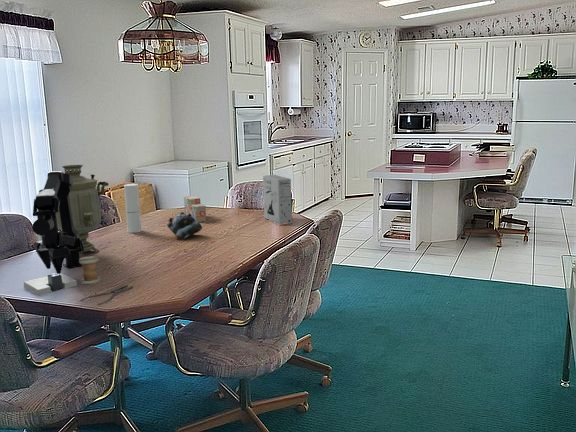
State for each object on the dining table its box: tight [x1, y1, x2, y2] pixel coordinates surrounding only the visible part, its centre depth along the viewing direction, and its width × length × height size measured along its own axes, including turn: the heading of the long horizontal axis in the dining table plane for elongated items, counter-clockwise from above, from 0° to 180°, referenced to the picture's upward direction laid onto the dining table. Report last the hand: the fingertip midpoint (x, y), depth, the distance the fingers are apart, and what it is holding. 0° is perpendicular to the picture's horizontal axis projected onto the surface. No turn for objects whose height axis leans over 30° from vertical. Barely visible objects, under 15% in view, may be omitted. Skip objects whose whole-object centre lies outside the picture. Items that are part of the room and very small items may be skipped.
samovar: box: [38, 164, 109, 255], centre depth 254 cm, size 30×26×40 cm
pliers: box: [80, 284, 134, 306], centre depth 201 cm, size 10×1×20 cm
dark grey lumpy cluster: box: [166, 212, 203, 241], centre depth 285 cm, size 15×12×14 cm
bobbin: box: [79, 255, 101, 285], centre depth 215 cm, size 7×7×9 cm
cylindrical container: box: [123, 183, 142, 234], centre depth 299 cm, size 7×7×25 cm
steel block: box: [47, 272, 64, 292], centre depth 208 cm, size 4×4×6 cm
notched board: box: [23, 272, 78, 296], centre depth 212 cm, size 14×14×2 cm
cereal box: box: [262, 174, 293, 225], centre depth 317 cm, size 22×8×25 cm, turn 25°
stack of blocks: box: [183, 195, 207, 223], centre depth 330 cm, size 21×6×12 cm, turn 27°
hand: (53, 271), depth 207 cm, fingers open, 9 cm apart
